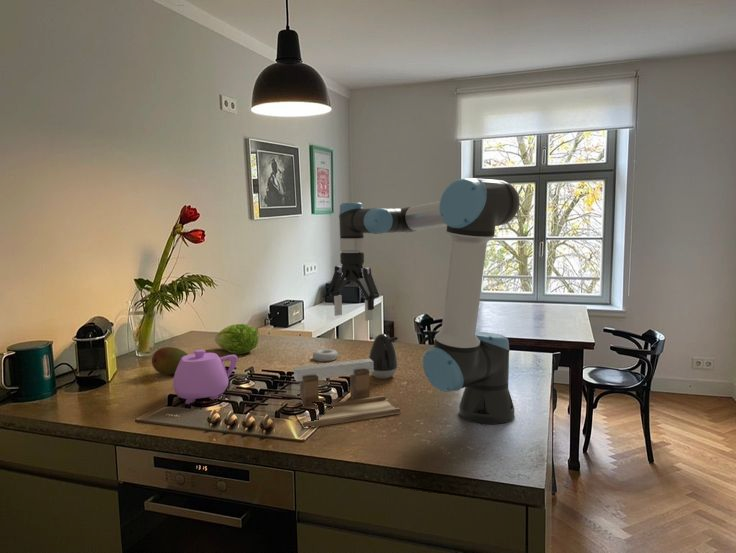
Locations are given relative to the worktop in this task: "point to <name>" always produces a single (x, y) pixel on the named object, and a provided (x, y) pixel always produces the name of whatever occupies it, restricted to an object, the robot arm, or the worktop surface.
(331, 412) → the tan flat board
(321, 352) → the donut
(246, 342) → the lettuce
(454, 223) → the robot arm
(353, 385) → the cradle posts
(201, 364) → the teapot
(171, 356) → the fruit
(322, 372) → the rail
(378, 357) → the pump dispenser
